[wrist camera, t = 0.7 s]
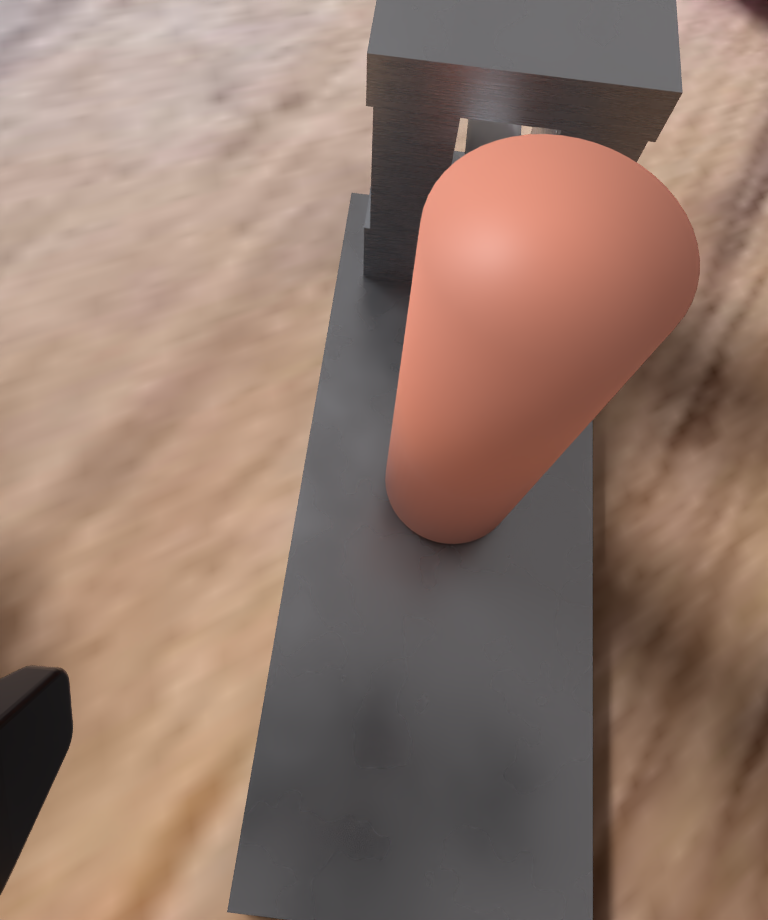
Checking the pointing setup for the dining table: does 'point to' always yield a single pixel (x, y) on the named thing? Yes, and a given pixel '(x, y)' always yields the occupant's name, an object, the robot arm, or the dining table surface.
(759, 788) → the dining table surface
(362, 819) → the eye post
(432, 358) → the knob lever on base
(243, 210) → the dining table surface
